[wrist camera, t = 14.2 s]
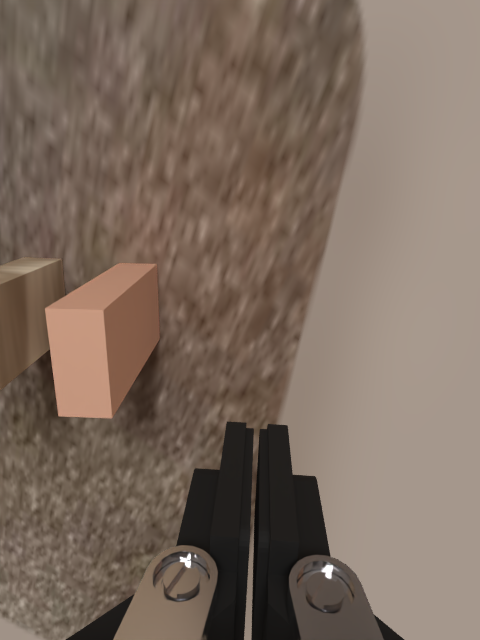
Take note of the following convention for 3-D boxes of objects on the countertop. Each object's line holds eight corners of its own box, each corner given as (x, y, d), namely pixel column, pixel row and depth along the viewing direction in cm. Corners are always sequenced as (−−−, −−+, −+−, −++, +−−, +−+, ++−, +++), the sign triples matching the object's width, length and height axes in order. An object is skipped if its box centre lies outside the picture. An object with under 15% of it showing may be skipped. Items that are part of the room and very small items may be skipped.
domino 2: (124, 337, 28) (58, 416, 19) (119, 263, 27) (44, 308, 17) (159, 338, 28) (112, 418, 19) (156, 264, 27) (103, 310, 17)
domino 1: (33, 331, 29) (-77, 407, 19) (24, 257, 27) (-101, 298, 18) (68, 333, 29) (-24, 410, 19) (62, 258, 27) (-43, 301, 17)
